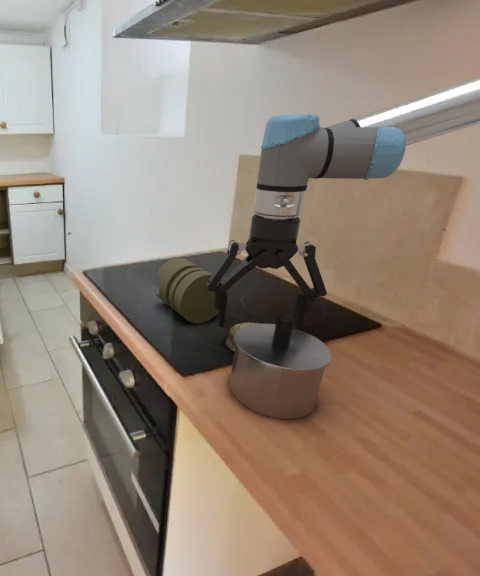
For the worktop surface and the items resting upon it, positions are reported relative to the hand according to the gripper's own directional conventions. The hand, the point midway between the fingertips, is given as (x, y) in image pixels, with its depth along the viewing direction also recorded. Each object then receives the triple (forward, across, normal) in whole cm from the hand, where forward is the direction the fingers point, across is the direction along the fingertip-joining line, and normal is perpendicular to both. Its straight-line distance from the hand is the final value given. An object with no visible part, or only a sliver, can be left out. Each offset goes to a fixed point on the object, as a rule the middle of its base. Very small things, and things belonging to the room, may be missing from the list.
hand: (257, 326), depth 72 cm
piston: (+5, -12, +14) cm, 19 cm away
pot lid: (-4, 0, -14) cm, 15 cm away
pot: (+5, 0, -14) cm, 15 cm away
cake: (+5, 0, 0) cm, 5 cm away
